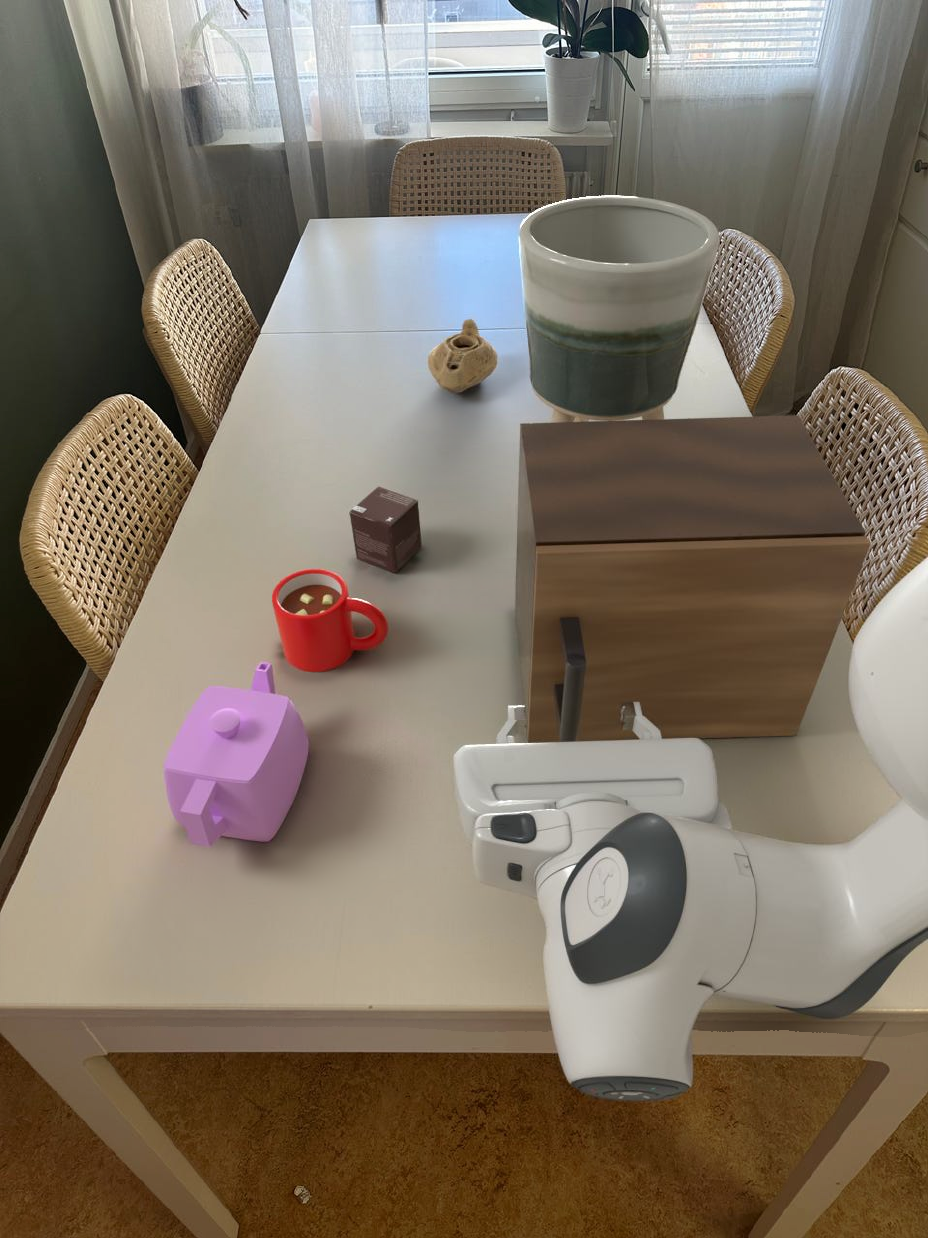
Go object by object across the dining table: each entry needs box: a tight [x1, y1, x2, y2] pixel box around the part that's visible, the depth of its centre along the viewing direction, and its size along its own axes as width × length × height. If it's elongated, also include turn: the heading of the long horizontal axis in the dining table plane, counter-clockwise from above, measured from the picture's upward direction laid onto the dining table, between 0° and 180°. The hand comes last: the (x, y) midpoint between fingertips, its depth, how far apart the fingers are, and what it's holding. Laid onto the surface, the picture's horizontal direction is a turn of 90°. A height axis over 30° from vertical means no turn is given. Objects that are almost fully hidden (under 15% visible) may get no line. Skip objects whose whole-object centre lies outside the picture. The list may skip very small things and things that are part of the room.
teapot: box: [163, 661, 310, 848], centre depth 79 cm, size 18×10×10 cm, turn 169°
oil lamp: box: [427, 318, 498, 394], centre depth 135 cm, size 11×15×8 cm
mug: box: [271, 568, 389, 673], centre depth 93 cm, size 8×12×8 cm, turn 83°
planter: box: [518, 195, 721, 423], centre depth 106 cm, size 22×22×33 cm
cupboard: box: [514, 414, 867, 733], centre depth 84 cm, size 18×26×24 cm
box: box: [349, 485, 423, 574], centre depth 104 cm, size 6×6×7 cm
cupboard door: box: [526, 535, 871, 743], centre depth 75 cm, size 7×26×24 cm, turn 91°
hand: (572, 708), depth 72 cm, fingers open, 8 cm apart
